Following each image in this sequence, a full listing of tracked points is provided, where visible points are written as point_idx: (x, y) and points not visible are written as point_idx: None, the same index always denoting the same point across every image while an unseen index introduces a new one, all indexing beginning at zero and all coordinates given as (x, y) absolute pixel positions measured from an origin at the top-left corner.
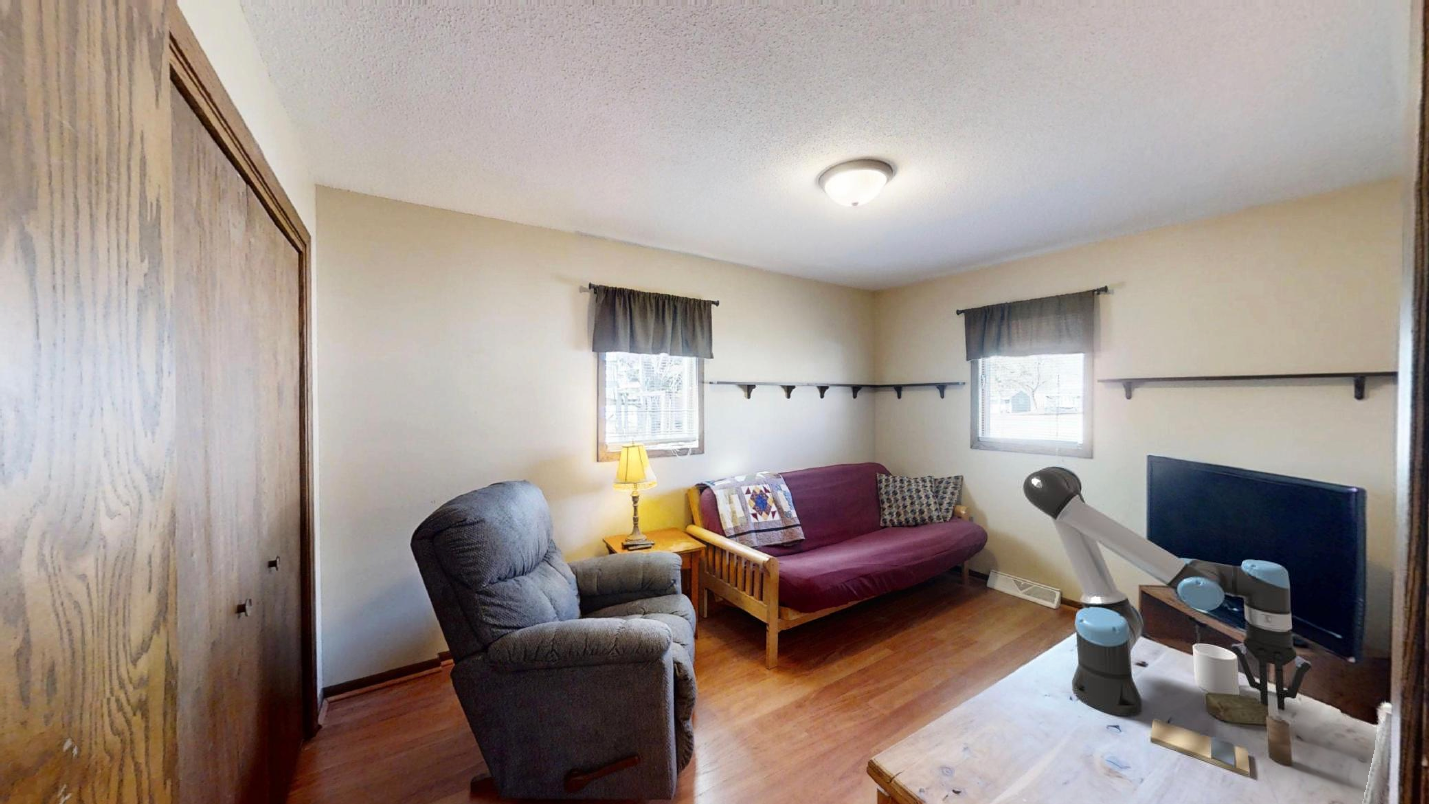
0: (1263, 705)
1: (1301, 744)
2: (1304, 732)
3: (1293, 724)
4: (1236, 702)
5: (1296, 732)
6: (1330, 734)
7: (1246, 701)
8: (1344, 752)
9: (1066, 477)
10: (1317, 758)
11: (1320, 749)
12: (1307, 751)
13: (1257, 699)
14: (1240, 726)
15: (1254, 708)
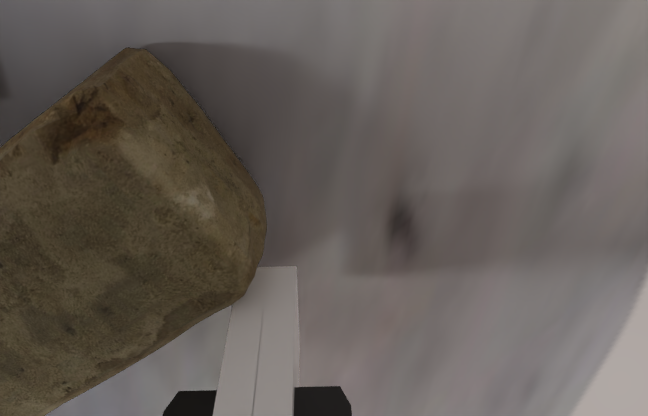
0: (195, 290)
1: (400, 306)
2: (451, 125)
3: (403, 33)
4: (18, 391)
5: (400, 166)
6: (633, 12)
7: (69, 321)
8: (610, 241)
9: None
10: (444, 391)
11: (485, 295)
12: (414, 358)
13: (134, 185)
14: None
15: (144, 355)
